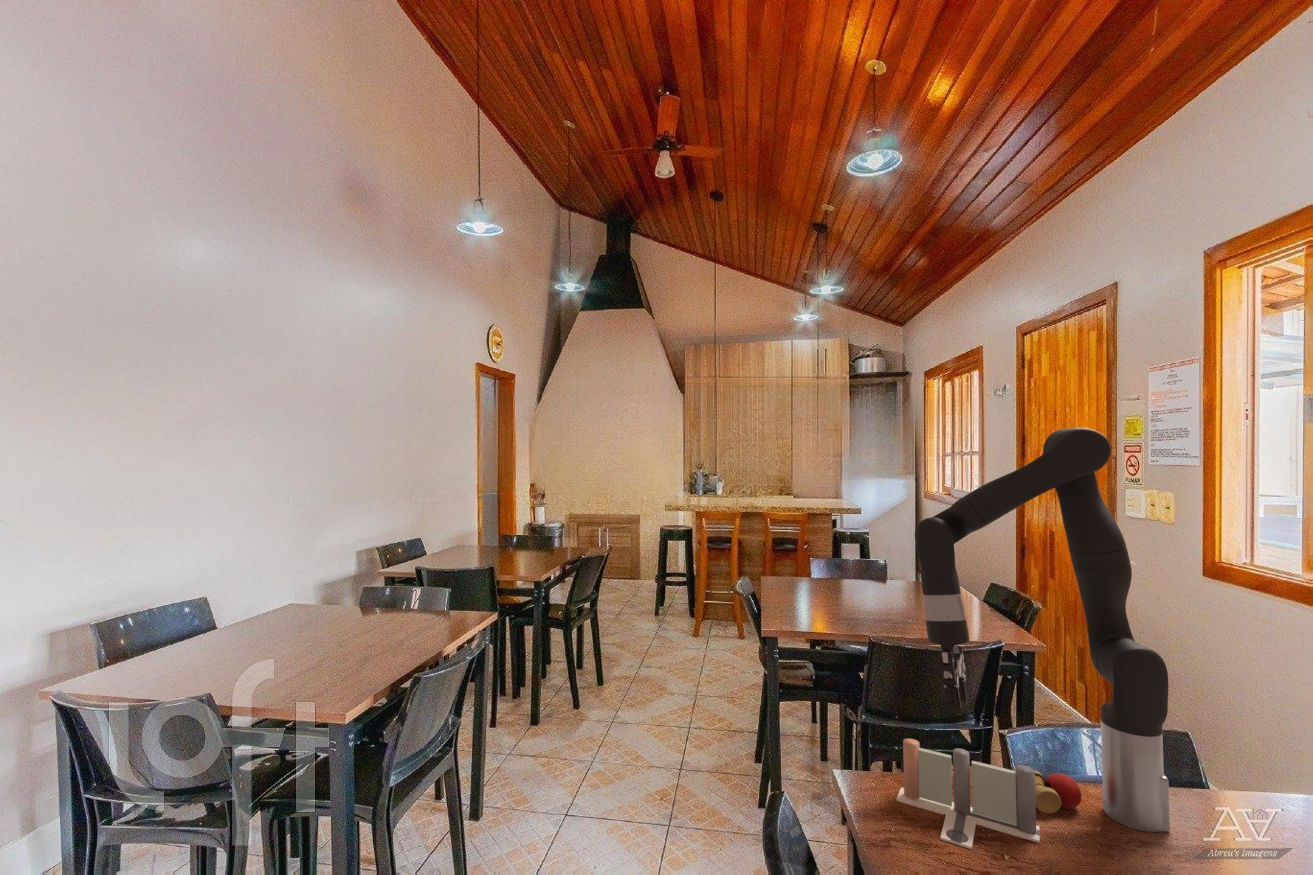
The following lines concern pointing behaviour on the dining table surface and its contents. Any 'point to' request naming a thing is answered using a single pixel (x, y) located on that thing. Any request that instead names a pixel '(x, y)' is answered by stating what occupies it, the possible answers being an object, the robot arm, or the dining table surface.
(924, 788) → the gate
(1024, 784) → the fence fixed
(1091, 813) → the dining table surface
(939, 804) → the board
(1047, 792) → the kendama
